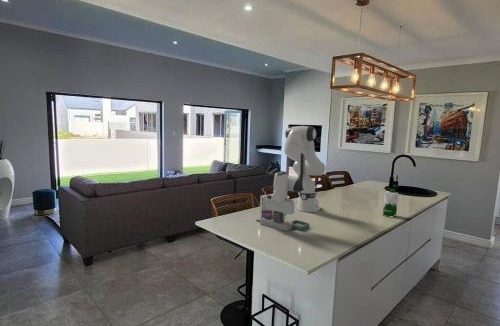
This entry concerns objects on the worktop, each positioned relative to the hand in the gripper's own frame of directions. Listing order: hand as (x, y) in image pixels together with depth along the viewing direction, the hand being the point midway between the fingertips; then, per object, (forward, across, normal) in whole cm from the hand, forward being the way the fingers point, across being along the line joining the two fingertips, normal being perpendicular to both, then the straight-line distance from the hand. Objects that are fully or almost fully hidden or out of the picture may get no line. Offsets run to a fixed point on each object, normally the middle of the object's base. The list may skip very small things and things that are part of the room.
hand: (278, 218), depth 186 cm
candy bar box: (+6, +15, -10) cm, 19 cm away
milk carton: (+6, -48, -82) cm, 95 cm away
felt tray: (+6, -10, -9) cm, 14 cm away
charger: (+4, 0, 0) cm, 4 cm away
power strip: (+6, +5, 0) cm, 7 cm away
